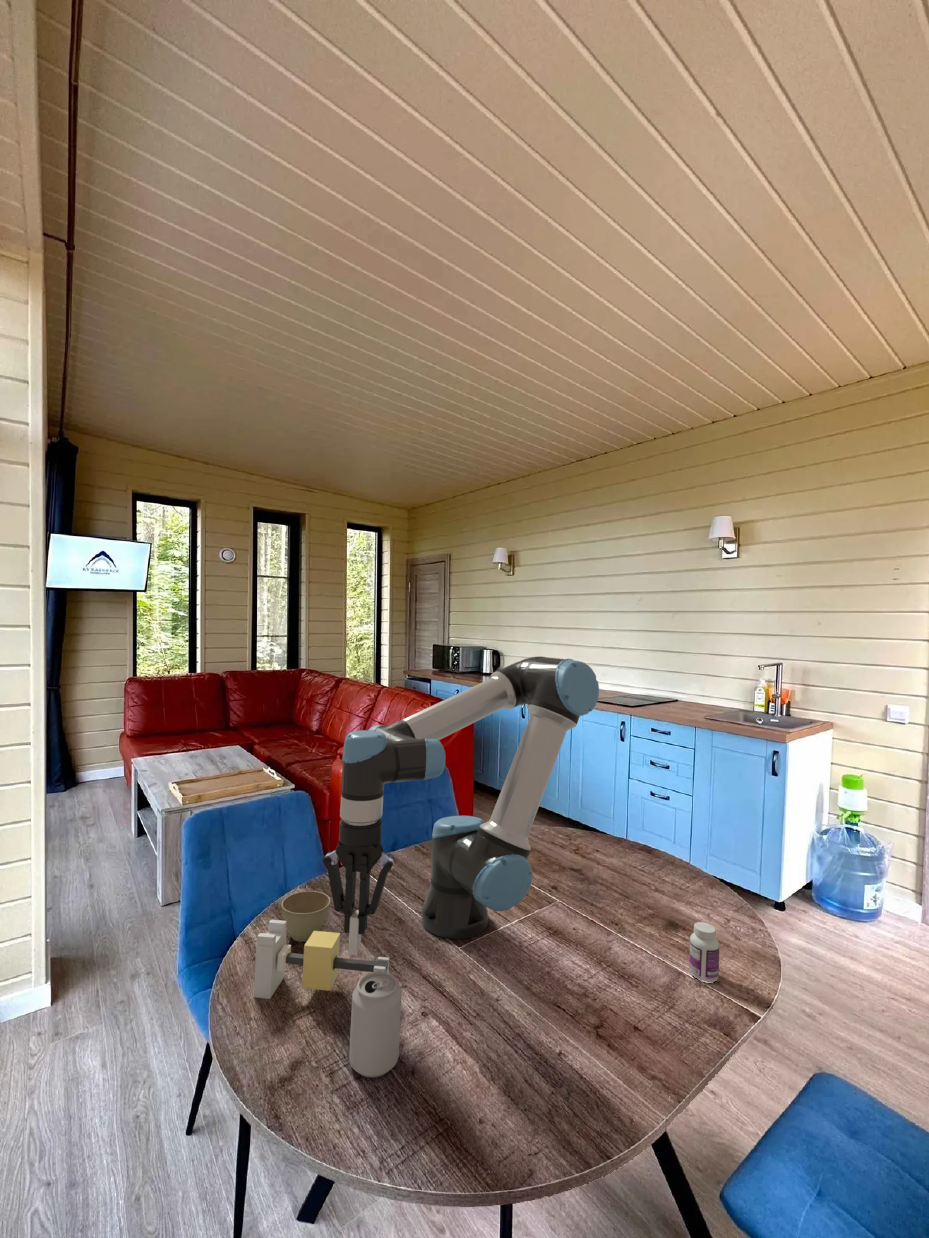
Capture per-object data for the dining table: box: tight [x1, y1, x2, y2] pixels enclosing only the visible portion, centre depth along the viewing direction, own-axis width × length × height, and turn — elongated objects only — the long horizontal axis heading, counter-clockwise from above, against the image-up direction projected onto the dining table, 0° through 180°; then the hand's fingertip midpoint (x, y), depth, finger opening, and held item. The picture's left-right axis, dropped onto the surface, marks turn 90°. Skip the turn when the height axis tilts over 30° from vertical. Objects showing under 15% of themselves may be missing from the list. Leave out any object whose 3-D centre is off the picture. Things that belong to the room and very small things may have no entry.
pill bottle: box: [688, 921, 720, 982], centre depth 108 cm, size 5×5×10 cm
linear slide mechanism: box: [253, 919, 390, 1000], centre depth 98 cm, size 23×6×11 cm, turn 85°
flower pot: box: [281, 890, 331, 943], centre depth 116 cm, size 10×10×7 cm
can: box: [348, 971, 403, 1078], centre depth 83 cm, size 8×8×12 cm
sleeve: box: [301, 930, 341, 992], centre depth 99 cm, size 5×5×7 cm
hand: (354, 950), depth 98 cm, fingers closed
